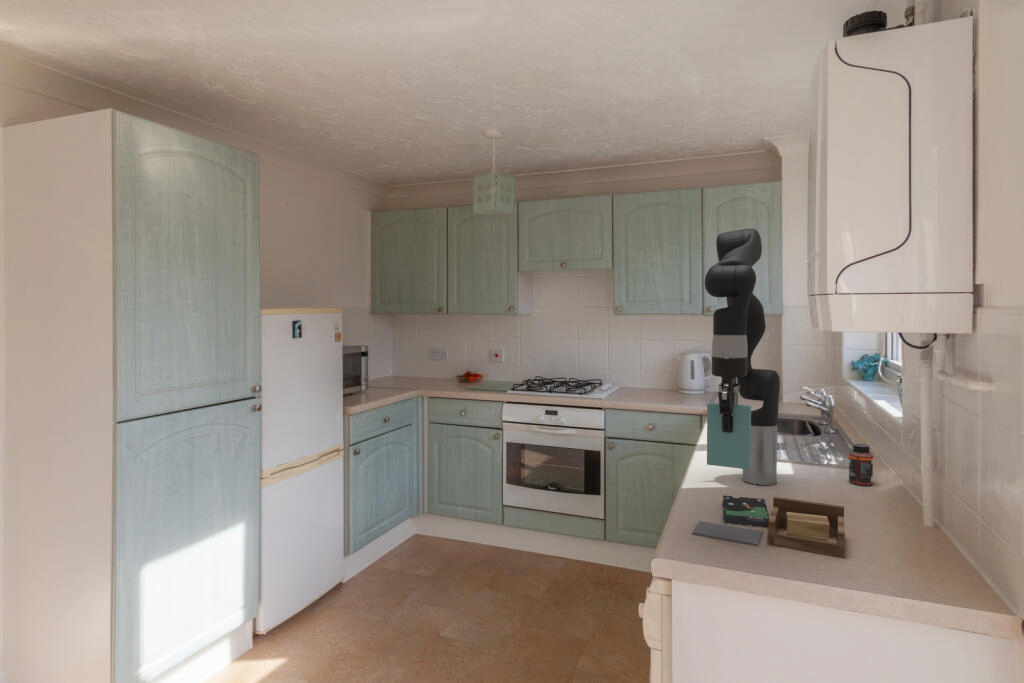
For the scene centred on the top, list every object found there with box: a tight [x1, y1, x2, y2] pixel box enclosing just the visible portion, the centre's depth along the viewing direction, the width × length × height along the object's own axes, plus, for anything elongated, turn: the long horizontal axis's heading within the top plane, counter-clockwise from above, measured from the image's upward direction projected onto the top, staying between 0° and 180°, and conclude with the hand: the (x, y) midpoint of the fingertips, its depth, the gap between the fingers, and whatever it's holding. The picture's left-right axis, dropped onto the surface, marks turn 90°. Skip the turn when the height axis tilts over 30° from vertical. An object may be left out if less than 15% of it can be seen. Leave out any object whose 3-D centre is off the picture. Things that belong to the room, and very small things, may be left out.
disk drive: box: [722, 494, 770, 528], centre depth 143 cm, size 10×3×15 cm
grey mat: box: [691, 520, 763, 547], centre depth 131 cm, size 8×14×1 cm, turn 61°
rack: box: [767, 496, 846, 558], centre depth 127 cm, size 12×14×7 cm
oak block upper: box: [787, 512, 830, 539], centre depth 125 cm, size 5×8×3 cm, turn 67°
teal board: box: [706, 402, 752, 470], centre depth 130 cm, size 2×9×14 cm, turn 61°
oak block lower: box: [785, 527, 828, 541], centre depth 125 cm, size 5×8×3 cm, turn 62°
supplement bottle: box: [848, 443, 874, 487], centre depth 166 cm, size 6×6×11 cm
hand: (728, 430), depth 130 cm, fingers closed on teal board, 2 cm apart
